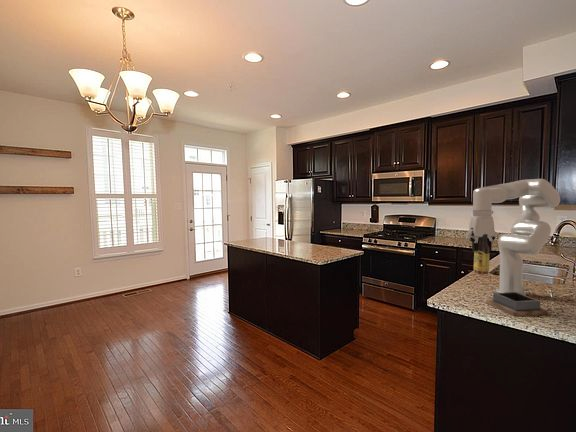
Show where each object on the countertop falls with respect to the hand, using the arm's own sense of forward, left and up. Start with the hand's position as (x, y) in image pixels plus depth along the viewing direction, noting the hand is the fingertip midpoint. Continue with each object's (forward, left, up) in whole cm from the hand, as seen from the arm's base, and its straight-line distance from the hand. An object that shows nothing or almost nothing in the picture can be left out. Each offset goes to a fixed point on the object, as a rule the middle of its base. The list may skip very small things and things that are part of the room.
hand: (481, 250), depth 140 cm
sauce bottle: (0, 0, -12) cm, 12 cm away
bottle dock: (-8, +12, -25) cm, 29 cm away
